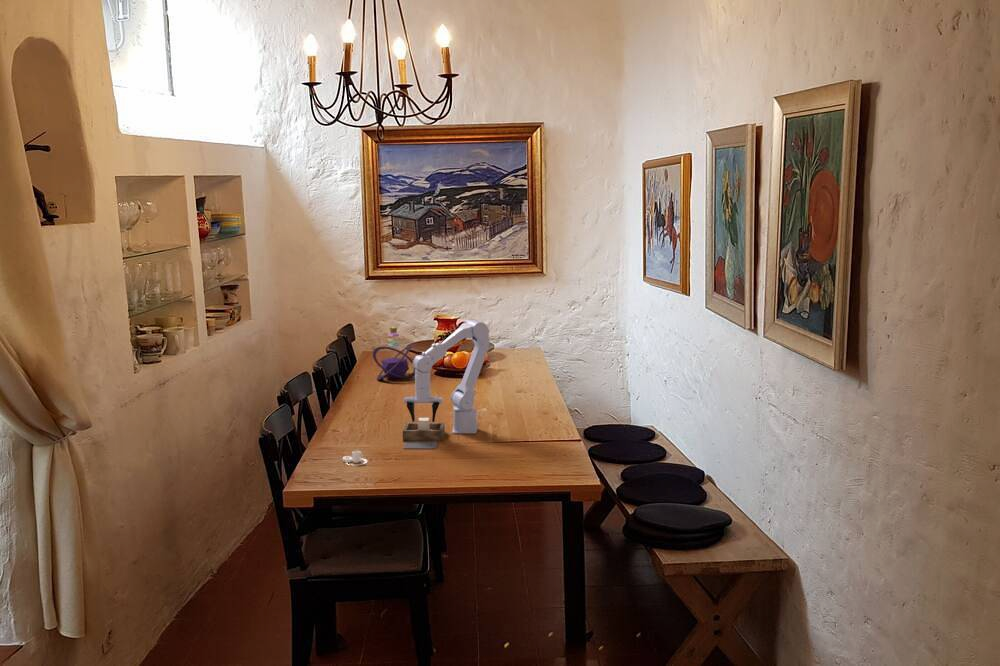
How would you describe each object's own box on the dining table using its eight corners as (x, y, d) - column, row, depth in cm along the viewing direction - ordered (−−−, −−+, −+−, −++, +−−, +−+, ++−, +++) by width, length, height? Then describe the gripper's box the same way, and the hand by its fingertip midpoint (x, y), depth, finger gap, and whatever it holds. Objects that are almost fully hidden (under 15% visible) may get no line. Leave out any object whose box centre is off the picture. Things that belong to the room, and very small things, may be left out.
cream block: (429, 430, 353) (429, 417, 352) (428, 433, 349) (428, 420, 348) (419, 430, 353) (419, 417, 352) (418, 433, 349) (417, 420, 348)
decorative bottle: (372, 373, 456) (370, 324, 451) (414, 371, 460) (413, 322, 455) (374, 384, 434) (372, 332, 429) (418, 381, 438) (417, 330, 433)
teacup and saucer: (339, 462, 324) (338, 451, 323) (357, 457, 329) (357, 446, 329) (353, 468, 318) (353, 457, 317) (372, 463, 323) (371, 451, 322)
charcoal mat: (437, 442, 344) (437, 441, 344) (435, 449, 337) (435, 448, 337) (406, 442, 345) (406, 441, 345) (403, 449, 337) (403, 448, 337)
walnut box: (444, 432, 357) (444, 422, 356) (442, 441, 346) (442, 430, 345) (406, 432, 357) (406, 422, 356) (402, 441, 346) (402, 431, 346)
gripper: (442, 384, 352) (443, 418, 354) (405, 384, 352) (406, 418, 354) (441, 388, 345) (441, 423, 347) (402, 388, 345) (403, 423, 348)
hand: (423, 421), depth 350 cm, fingers open, 7 cm apart
